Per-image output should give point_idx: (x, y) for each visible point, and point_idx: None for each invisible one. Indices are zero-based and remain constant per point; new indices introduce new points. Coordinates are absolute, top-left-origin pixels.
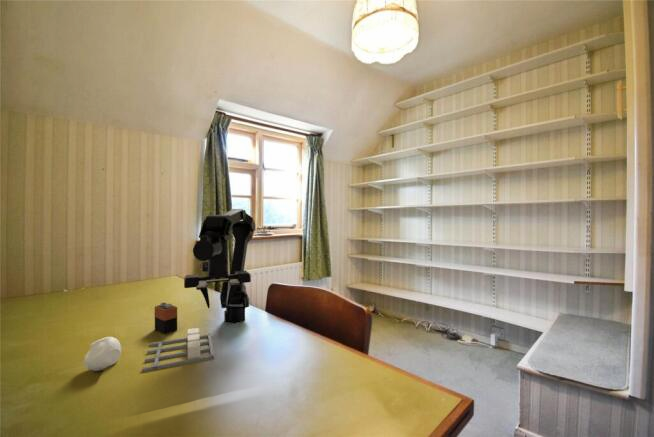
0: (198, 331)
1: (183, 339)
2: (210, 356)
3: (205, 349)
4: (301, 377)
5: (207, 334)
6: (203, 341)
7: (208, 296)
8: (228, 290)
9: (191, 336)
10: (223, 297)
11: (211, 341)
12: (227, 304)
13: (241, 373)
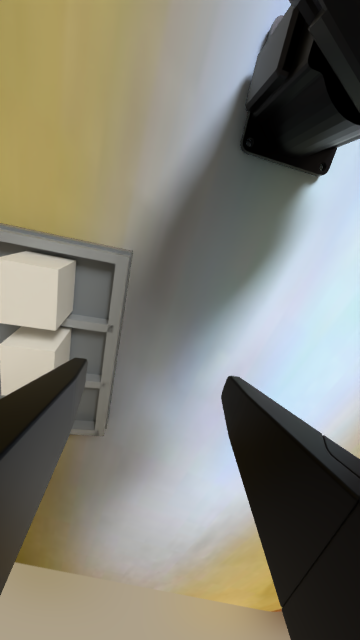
0: (53, 322)
1: (2, 240)
2: (92, 434)
3: (85, 386)
4: (236, 521)
5: (115, 257)
6: (86, 324)
7: (18, 552)
8: (307, 545)
9: (17, 363)
10: (350, 12)
11: (116, 339)
12: (225, 411)
13: (150, 479)
